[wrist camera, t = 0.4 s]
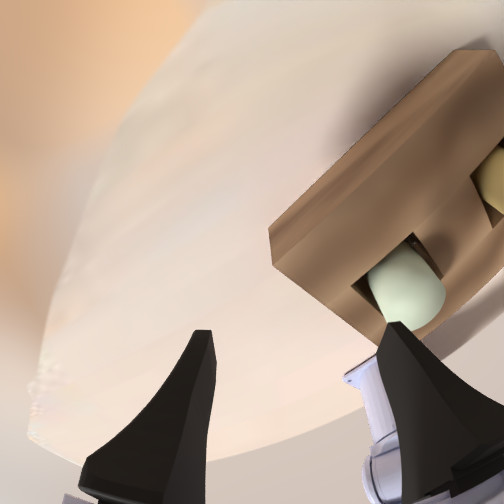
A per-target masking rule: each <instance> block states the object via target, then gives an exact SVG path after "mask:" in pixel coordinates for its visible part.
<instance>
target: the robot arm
mask: <svg viewBox="0 0 504 504" xmlns="http://www.w3.org/2000/svg"><path fill="white" fill-rule="evenodd" d="M216 366H217V361H216V355H215V349H214V343H213V337H212V331H211V330H195V331H194V332H193V334H192V337H191V339H190V341H189V343H188V345H187V346H186V348H185V350H184V352H183V354H182V355H181V357H180V359H179V360H178V362H177V364H176V365H175V367H174V369H173V370H172V372H171V373H170V375H169V376H168V378H167V379H166V381H165V382H164V383H163V385H162V386H161V388H160V389H159V390H158V392H157V393H156V394H155V396H154V397H153V398H152V399H151V401H150V402H149V403H148V404H147V405H146V407H145V408H144V409H143V410H142V411H141V412H140V413H139V414H138V415H137V416H136V417H135V418H134V419H133V420H132V421H131V422H130V423H129V424H128V425H127V426H126V427H125V428H124V429H123V430H122V431H121V432H119V433H118V434H117V435H116V436H115V437H114V438H113V439H111V440H110V441H109V442H108V443H106V444H105V445H104V446H102V447H101V448H100V449H98V450H97V451H95V452H94V453H93V454H91V455H90V456H88V457H87V459H86V461H85V463H84V466H83V468H82V472H81V476H80V480H79V484H78V487H79V489H80V490H81V491H83V492H85V493H86V494H88V495H90V496H93V497H94V498H96V499H98V504H205V471H206V446H207V434H208V427H209V421H210V415H211V409H212V403H213V397H214V391H215V385H216ZM342 379H343V381H344V382H345V383H347V384H349V385H351V386H353V387H355V388H357V389H359V390H360V391H361V395H362V398H363V402H364V406H365V409H366V413H367V417H368V421H369V425H370V429H371V434H372V438H373V442H374V445H373V446H371V447H370V451H371V455H368V456H367V457H366V459H365V462H364V463H363V466H362V481H363V486H364V489H365V493H366V495H367V497H368V499H369V501H370V502H371V503H372V504H504V406H503V405H501V404H500V403H498V402H496V401H494V400H492V399H490V398H488V397H487V396H485V395H483V394H482V393H480V392H479V391H477V390H476V389H474V388H473V387H471V386H470V385H468V384H467V383H466V382H464V381H463V380H462V379H460V378H459V377H458V376H457V375H456V374H454V373H453V372H452V371H451V370H450V369H449V368H448V367H446V366H445V365H444V364H443V363H442V362H441V361H440V360H439V359H438V358H437V357H436V356H435V355H434V354H433V353H432V352H431V351H430V350H429V349H428V348H427V347H426V346H425V345H424V344H423V343H422V342H421V341H420V340H419V339H418V338H417V337H416V336H415V335H414V334H413V333H412V332H411V331H410V330H409V329H408V328H407V327H406V326H405V325H404V324H403V323H402V322H401V321H395V322H388V324H387V326H386V329H385V332H384V334H383V337H382V339H381V342H380V345H379V347H378V350H377V352H376V356H374V357H373V358H371V359H370V360H368V361H367V362H365V363H364V364H362V365H360V366H359V367H357V368H356V369H354V370H353V371H351V372H349V373H348V374H346V375H345V376H343V378H342ZM62 504H93V503H90V502H88V501H85V500H82V499H80V498H77V497H74V496H72V495H69V494H64V499H63V503H62Z"/></svg>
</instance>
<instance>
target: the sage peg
mask: <svg viewBox="0 0 504 504" xmlns="http://www.w3.org/2000/svg"><path fill="white" fill-rule="evenodd" d="M365 278H366V281H367V283H368V285H369V287H370V289H371V291H372V293H373V295H374V297H375V299H376V301H377V303H378V305H379V307H380V309H381V311H382V313H383V316H384V318H385V320H386V322H387V324H388V322H395V321H401V322H402V323H403V324H404V325H405V326H406V327H407V328H408V329H409V330H410V331H413V330H416V329H418V328H420V327H422V326H424V325H426V324H427V323H428V322H430V321H431V320H432V319H433V318H434V317H435V316H436V315H437V314H438V312H439V311H440V309H441V308H442V306H443V304H444V301H445V297H446V290H445V287H444V285H443V284H442V282H441V281H440V280H439V279H438V277H437V276H436V275H435V273H434V272H433V271H432V269H431V268H430V267H429V266H428V264H427V263H426V262H425V261H424V259H423V258H422V257H421V256H420V254H419V253H418V252H417V251H416V249H415V248H414V247H413V246H412V245H411V244H410V243H408V242H406V241H402V242H401V243H400V244H399V245H398V246H396V247H395V248H394V249H393V250H392V251H391V252H390V253H388V254H387V255H386V256H385V257H384V258H383V259H382V260H380V261H379V262H378V263H377V264H376V265H375V266H373V267H372V268H371V269H370V270H369V271H368V272H366V273H365Z"/></svg>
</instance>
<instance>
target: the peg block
mask: <svg viewBox="0 0 504 504" xmlns="http://www.w3.org/2000/svg"><path fill="white" fill-rule="evenodd" d="M496 145H498V146H500V147H503V148H504V65H503V64H502V62H501V60H500V58H499V56H498V54H497V53H496V51H495V50H453V51H452V52H451V53H450V54H449V55H448V56H447V57H446V58H445V59H444V60H443V61H442V62H441V63H440V64H439V65H437V66H436V67H435V68H434V69H433V70H432V71H431V72H430V73H429V74H428V75H427V76H426V77H425V78H424V79H423V80H422V81H421V82H420V83H419V84H417V85H416V86H415V87H414V88H413V89H412V90H411V91H410V92H409V93H408V94H407V95H406V96H405V97H404V98H403V99H402V100H401V101H400V102H399V103H398V104H397V105H395V106H394V107H393V108H392V109H391V110H390V111H389V112H388V113H387V114H386V115H385V116H384V117H383V118H382V119H381V120H380V121H379V122H378V123H377V124H376V125H375V126H374V127H372V128H371V129H370V130H369V131H368V132H367V133H366V134H365V135H364V136H363V137H362V138H361V139H360V140H359V141H358V142H357V143H356V144H355V145H354V146H353V147H352V148H351V149H350V150H349V151H348V152H346V153H345V154H344V155H343V156H342V157H341V158H340V159H339V160H338V161H337V162H336V163H335V164H334V165H333V166H332V167H331V168H330V169H329V170H328V171H327V172H326V173H325V174H324V175H323V176H322V177H321V178H320V179H318V180H317V181H316V182H315V183H314V184H313V185H312V186H311V187H310V188H309V189H308V190H307V191H306V192H305V193H304V194H303V195H302V196H301V197H300V198H299V199H298V200H297V201H296V202H295V203H294V204H293V205H292V206H291V207H290V208H289V209H288V210H287V211H285V212H284V213H283V214H282V215H281V216H280V217H279V218H278V219H277V220H276V221H275V222H274V223H273V224H272V225H271V226H270V227H269V228H268V230H269V239H270V247H271V256H272V265H273V266H274V267H275V268H276V269H278V270H279V271H280V272H281V273H283V274H284V275H285V276H287V277H288V278H289V279H291V280H292V281H293V282H294V283H296V284H297V285H298V286H300V287H301V288H302V289H304V290H305V291H306V292H308V293H309V294H310V295H311V296H313V297H314V298H315V299H317V300H318V301H319V302H321V303H322V304H323V305H325V306H326V307H327V308H328V309H330V310H331V311H332V312H334V313H335V314H336V315H338V316H339V317H340V318H342V319H343V320H344V321H345V322H347V323H348V324H349V325H351V326H352V327H353V328H355V329H356V330H357V331H358V332H360V333H361V334H362V335H364V336H365V337H366V338H368V339H369V340H370V341H372V342H373V343H374V344H375V345H377V346H378V347H379V345H380V342H381V339H382V337H383V334H384V332H385V329H386V326H387V322H386V320H385V318H384V316H383V313H382V311H381V309H380V307H379V305H378V303H377V301H376V299H375V297H374V295H373V293H372V291H371V289H370V287H369V285H368V283H367V281H366V279H365V278H364V277H363V275H364V274H365V273H366V272H368V271H369V270H370V269H371V268H372V267H373V266H375V265H376V264H377V263H378V262H379V261H380V260H382V259H383V258H384V257H385V256H386V255H387V254H388V253H390V252H391V251H392V250H393V249H394V248H395V247H396V246H398V245H399V244H400V243H401V242H402V241H403V240H404V239H405V238H406V237H407V236H409V235H411V236H412V238H413V239H414V240H415V242H416V244H415V245H414V246H413V247H414V248H415V249H416V251H417V252H418V253H419V254H420V256H421V257H422V258H423V259H424V261H425V262H426V263H427V264H428V266H429V267H430V268H431V269H432V271H433V272H434V273H435V275H436V276H437V277H438V279H439V280H440V281H441V282H442V284H443V285H444V287H445V290H446V297H445V301H444V304H443V306H442V308H441V309H440V311H439V312H438V314H437V315H436V316H435V317H434V318H433V319H432V320H431V321H430V322H428V323H427V324H426V325H424V326H422V327H420V328H418V329H416V330H413V331H411V332H412V333H413V334H414V335H415V336H416V337H417V338H418V339H419V340H421V339H422V338H424V337H425V336H426V335H428V334H429V333H430V332H432V331H433V330H434V329H435V328H437V327H438V326H439V325H440V324H442V323H443V322H444V321H445V320H446V319H448V318H449V317H450V316H451V315H452V314H454V313H455V312H456V311H457V310H458V309H459V308H461V307H462V306H463V305H464V304H465V303H466V302H467V301H469V300H470V299H471V298H472V297H473V296H474V295H475V294H476V293H477V292H478V291H479V290H480V289H481V288H483V287H484V286H485V285H486V284H487V283H488V282H489V281H490V280H491V279H492V278H493V277H494V276H495V275H496V274H497V273H498V272H499V271H500V270H501V269H502V268H503V266H504V214H502V213H501V212H500V211H498V210H497V209H496V208H494V207H493V206H491V205H490V204H489V203H487V202H486V201H484V200H483V199H482V198H480V197H479V195H478V193H477V190H476V188H475V186H474V184H473V182H472V180H471V178H470V176H469V175H470V174H471V173H472V172H473V171H474V170H475V169H476V168H477V167H478V166H479V165H480V163H481V162H482V161H483V160H484V159H485V158H486V157H487V156H488V154H489V153H490V152H491V151H492V150H493V149H494V148H495V146H496Z"/></svg>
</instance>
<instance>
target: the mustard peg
mask: <svg viewBox="0 0 504 504" xmlns="http://www.w3.org/2000/svg"><path fill="white" fill-rule="evenodd" d="M470 178H471V180H472V182H473V184H474V186H475V188H476V190H477V193H478V195H479V197H480V198H482V199H483V200H484V201H486V202H487V203H489V204H490V205H491V206H493V207H494V208H496V209H497V210H498V211H500V212H501V213H502V214H504V148H503V147H500V146H498V145H496V146H495V148H494V149H493V150H492V151H491V152H490V153H489V154H488V156H487V157H486V158H485V159H484V160H483V161H482V162H481V163H480V165H479V166H478V167H477V168H476V169H475V170H474V171H473V172H472V173H471V174H470Z"/></svg>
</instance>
